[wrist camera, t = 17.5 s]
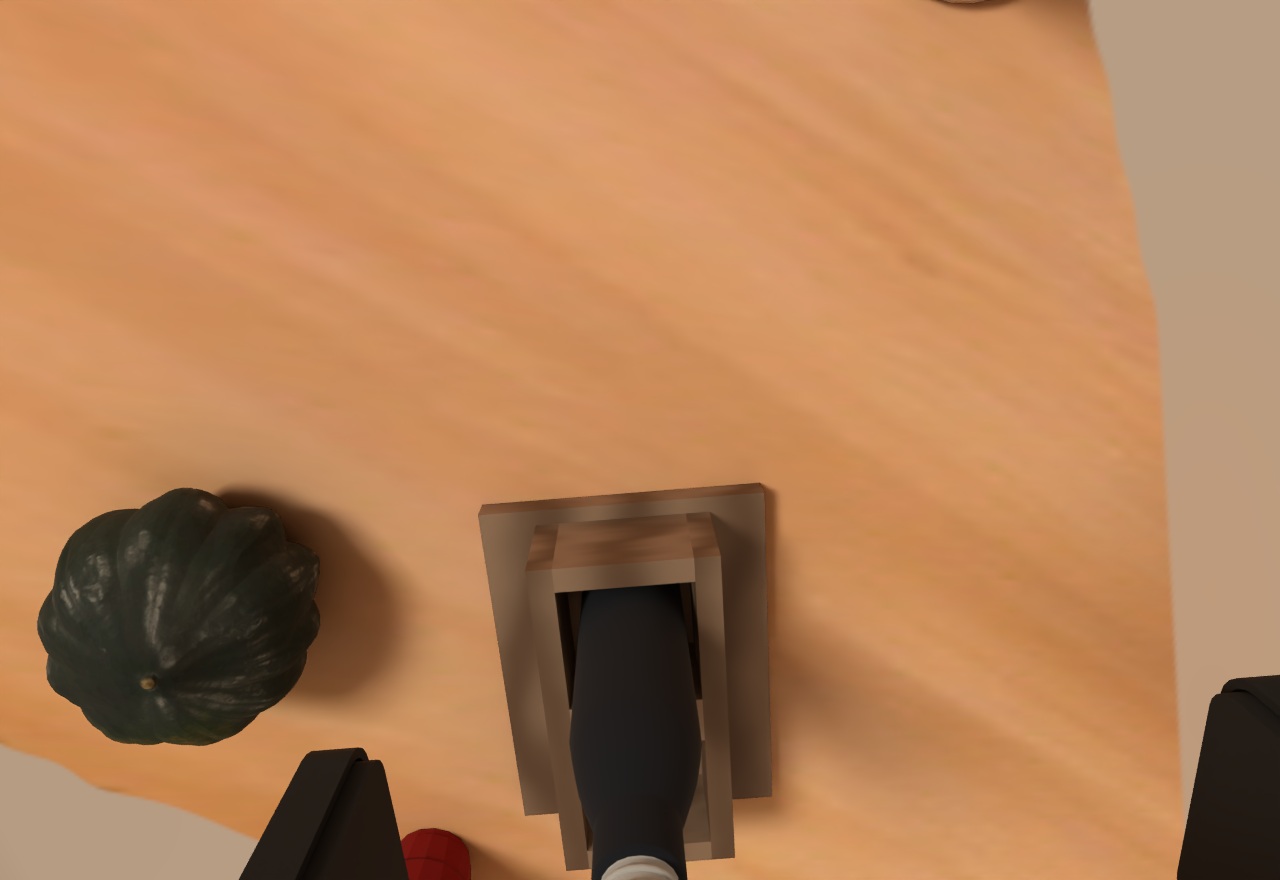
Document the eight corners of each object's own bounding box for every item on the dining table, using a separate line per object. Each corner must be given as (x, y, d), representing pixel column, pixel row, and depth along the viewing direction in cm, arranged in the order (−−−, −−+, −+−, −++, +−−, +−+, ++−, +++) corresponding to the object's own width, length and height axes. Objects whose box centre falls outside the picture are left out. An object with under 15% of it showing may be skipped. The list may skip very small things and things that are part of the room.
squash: (23, 692, 49) (75, 856, 39) (13, 464, 45) (67, 583, 35) (264, 636, 59) (354, 755, 49) (275, 445, 55) (375, 533, 45)
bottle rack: (760, 482, 51) (782, 534, 44) (768, 780, 59) (788, 865, 52) (482, 504, 51) (460, 560, 44) (527, 799, 59) (514, 886, 52)
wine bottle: (683, 549, 51) (763, 1031, 23) (677, 635, 53) (744, 1175, 25) (583, 546, 51) (537, 1030, 22) (581, 633, 53) (537, 1176, 25)
